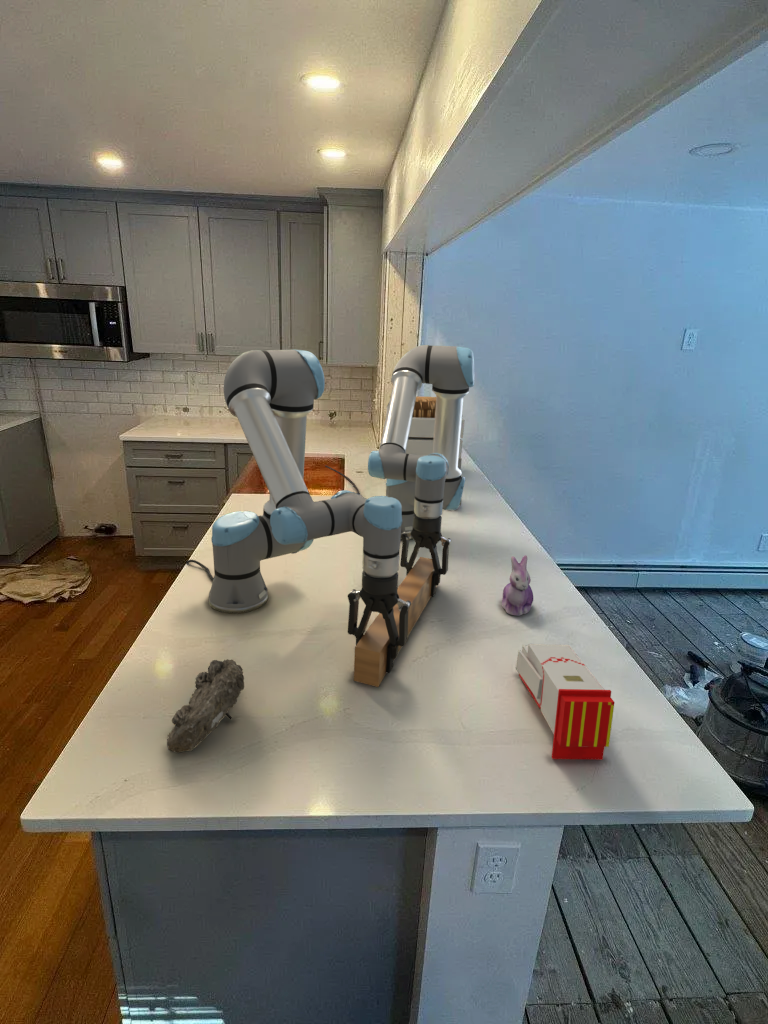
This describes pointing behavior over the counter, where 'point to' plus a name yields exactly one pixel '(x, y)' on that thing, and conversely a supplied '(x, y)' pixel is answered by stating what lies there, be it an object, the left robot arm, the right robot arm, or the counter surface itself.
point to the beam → (376, 637)
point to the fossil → (206, 705)
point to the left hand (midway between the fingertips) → (376, 665)
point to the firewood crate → (425, 428)
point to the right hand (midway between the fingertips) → (422, 592)
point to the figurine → (518, 589)
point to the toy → (568, 700)
